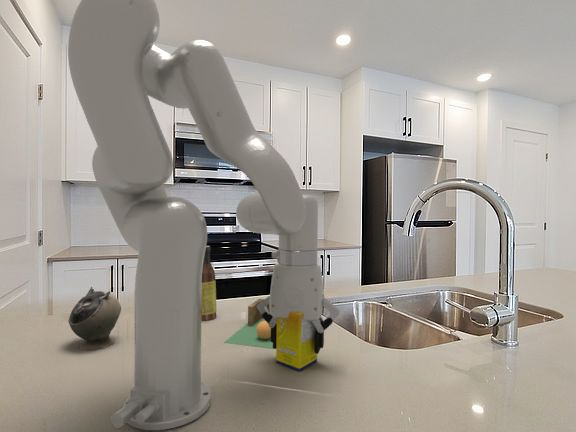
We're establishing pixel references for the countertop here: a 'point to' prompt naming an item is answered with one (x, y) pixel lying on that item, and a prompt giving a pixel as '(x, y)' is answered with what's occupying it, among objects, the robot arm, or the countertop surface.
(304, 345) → the supplement box
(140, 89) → the robot arm
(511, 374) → the countertop surface
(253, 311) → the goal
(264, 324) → the ball
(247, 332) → the pitch
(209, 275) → the sauce bottle
